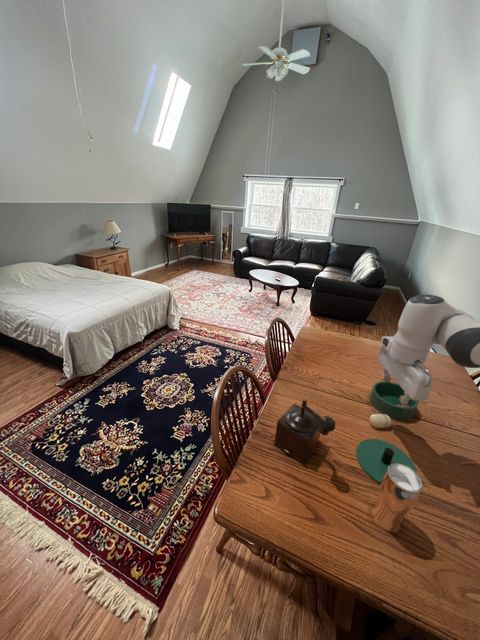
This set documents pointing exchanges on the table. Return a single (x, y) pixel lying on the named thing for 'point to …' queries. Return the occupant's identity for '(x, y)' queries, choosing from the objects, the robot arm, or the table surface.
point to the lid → (380, 457)
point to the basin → (391, 401)
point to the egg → (380, 420)
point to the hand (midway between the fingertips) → (393, 391)
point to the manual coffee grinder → (301, 431)
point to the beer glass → (396, 496)
